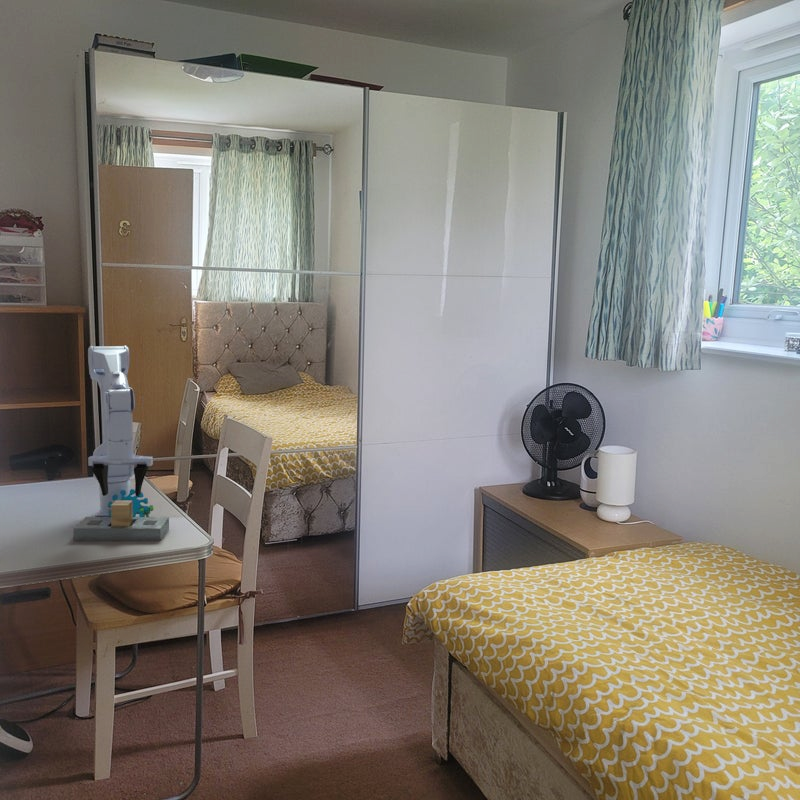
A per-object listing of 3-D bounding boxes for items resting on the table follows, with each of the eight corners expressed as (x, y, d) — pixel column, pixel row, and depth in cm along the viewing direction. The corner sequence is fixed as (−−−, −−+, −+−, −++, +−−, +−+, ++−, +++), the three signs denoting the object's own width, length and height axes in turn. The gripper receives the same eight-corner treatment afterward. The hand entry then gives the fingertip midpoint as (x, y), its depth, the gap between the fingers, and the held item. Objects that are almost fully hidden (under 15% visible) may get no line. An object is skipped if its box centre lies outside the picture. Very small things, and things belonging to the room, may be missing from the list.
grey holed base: (86, 528, 189) (85, 516, 188) (169, 528, 190) (168, 516, 190) (73, 540, 180) (73, 527, 179) (160, 540, 181) (160, 528, 181)
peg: (116, 532, 187) (115, 500, 186) (133, 532, 187) (132, 500, 186) (111, 537, 183) (110, 505, 182) (128, 537, 183) (128, 505, 182)
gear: (102, 519, 191) (112, 485, 197) (105, 530, 195) (114, 496, 201) (148, 525, 192) (156, 490, 198) (149, 535, 197) (157, 501, 203)
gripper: (83, 442, 177) (85, 499, 179) (147, 442, 178) (148, 499, 180) (92, 436, 184) (94, 491, 186) (154, 436, 185) (155, 491, 187)
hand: (121, 494), depth 184 cm, fingers open, 7 cm apart
